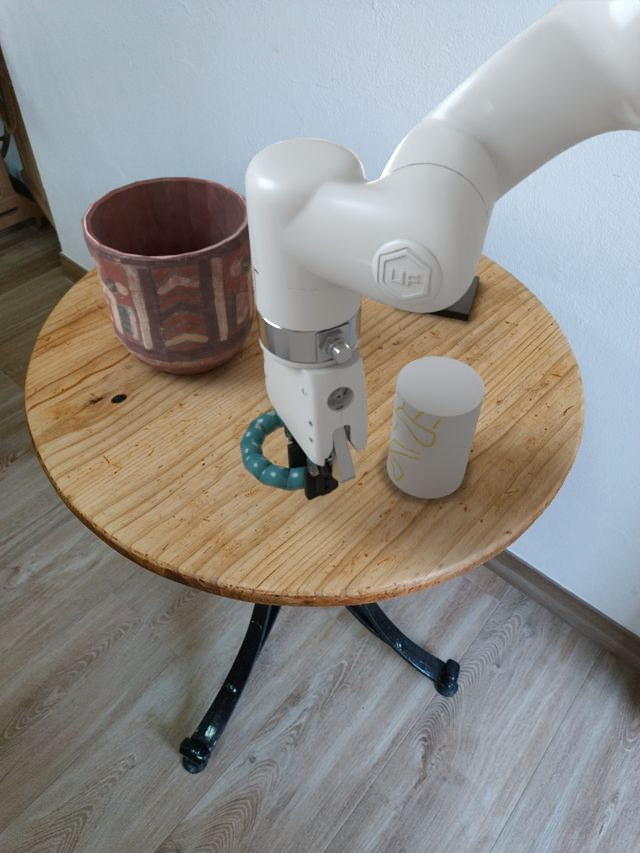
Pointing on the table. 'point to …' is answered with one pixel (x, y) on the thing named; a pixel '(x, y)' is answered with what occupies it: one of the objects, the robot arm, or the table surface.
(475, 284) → the peg stand
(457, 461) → the grey cylinder
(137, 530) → the table surface
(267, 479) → the ring
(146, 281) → the pottery
